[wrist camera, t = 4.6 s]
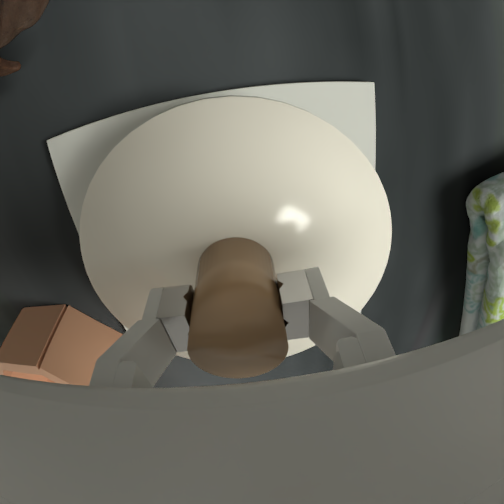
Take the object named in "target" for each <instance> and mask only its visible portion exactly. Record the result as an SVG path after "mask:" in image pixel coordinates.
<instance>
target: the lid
mask: <svg viewBox="0 0 504 504" xmlns="http://www.w3.org/2000/svg"><path fill="white" fill-rule="evenodd" d="M391 236H392V225H391V213H390V208H389V204H388V200H387V196H386V193H385V191H384V188H383V186H382V183H381V181H380V179H379V176H378V175H377V173H376V171H375V170H374V168H373V167H372V165H371V164H370V162H369V160H368V159H367V158H366V156H365V155H364V154H363V153H362V152H361V151H360V150H359V148H358V147H357V146H356V145H355V144H354V143H353V142H352V141H351V140H350V139H349V138H347V137H346V136H345V135H344V134H343V133H341V132H340V131H339V130H338V129H336V128H335V127H334V126H332V125H331V124H329V123H327V122H326V121H324V120H322V119H321V118H319V117H317V116H315V115H313V114H312V113H310V112H308V111H306V110H304V109H301V108H299V107H296V106H293V105H291V104H288V103H285V102H282V101H278V100H273V99H268V98H263V97H258V96H241V95H227V96H217V97H208V98H203V99H199V100H195V101H191V102H188V103H184V104H181V105H178V106H176V107H174V108H171V109H169V110H167V111H164V112H162V113H160V114H158V115H156V116H155V117H153V118H152V119H150V120H148V121H147V122H145V123H144V124H142V125H141V126H139V127H138V128H136V129H135V130H133V131H132V132H130V133H129V134H128V135H127V136H126V137H125V138H124V139H123V140H122V141H121V142H120V143H118V144H117V145H116V146H115V147H114V148H113V149H112V151H111V152H110V153H109V154H108V156H107V157H106V158H105V160H104V161H103V162H102V163H101V165H100V166H99V168H98V170H97V171H96V173H95V175H94V177H93V179H92V181H91V183H90V184H89V187H88V190H87V193H86V196H85V199H84V202H83V206H82V211H81V217H80V247H81V254H82V259H83V262H84V266H85V269H86V272H87V275H88V277H89V279H90V282H91V284H92V286H93V288H94V290H95V291H96V293H97V295H98V296H99V298H100V299H101V301H102V302H103V304H104V305H105V306H106V307H107V308H108V310H109V311H110V312H111V313H112V314H113V315H114V316H115V317H116V318H117V319H118V320H119V321H120V322H121V323H122V324H123V325H124V326H125V327H126V328H128V329H129V328H130V327H131V326H133V325H134V324H135V323H136V322H137V321H138V320H142V317H143V313H144V310H145V306H146V303H147V299H148V296H149V292H150V290H151V289H152V288H161V287H170V286H181V285H192V287H193V289H194V296H193V303H192V311H191V319H190V327H189V336H188V345H187V351H185V352H176V353H177V354H176V355H178V356H181V357H184V358H188V359H191V360H192V362H193V363H194V364H195V365H196V366H198V367H199V368H200V369H202V370H204V371H206V372H208V373H210V374H213V375H216V376H220V377H226V378H248V377H253V376H258V375H261V374H264V373H266V372H268V371H270V370H272V369H274V368H275V367H277V366H278V365H279V364H280V363H281V362H282V361H283V360H284V359H285V357H287V356H290V355H293V354H296V353H299V352H302V351H304V350H306V349H308V348H310V347H313V346H315V345H316V344H315V343H314V342H312V341H311V340H310V339H309V337H308V338H300V339H292V340H287V334H286V329H285V323H284V319H283V314H282V308H281V302H280V296H279V292H278V286H277V279H276V273H283V272H290V271H296V270H304V269H307V268H313V267H318V268H319V269H320V272H321V274H322V277H323V279H324V282H325V285H326V287H327V290H328V293H329V296H330V297H336V298H337V299H339V300H340V301H342V302H343V303H345V304H347V305H348V306H350V307H351V308H353V309H354V310H356V311H357V312H359V311H360V310H361V309H362V308H363V307H364V306H365V304H366V303H367V302H368V300H369V299H370V297H371V296H372V294H373V293H374V291H375V289H376V288H377V286H378V284H379V282H380V280H381V278H382V275H383V273H384V270H385V267H386V265H387V261H388V257H389V252H390V248H391Z"/></svg>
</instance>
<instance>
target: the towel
mask: <svg viewBox="0 0 504 504" xmlns="http://www.w3.org/2000/svg"><path fill="white" fill-rule="evenodd" d="M466 209H467V215H468V217H469V220H470V229H471V231H470V234H469V241H468V245H467V246H468V251H467V270H466V285H465V295H464V305H463V313H462V321H461V328H460V333H459V336H461V335H464V334H466V333H469V332H472V331H475V330H477V329H480V328H482V327H485V326H487V325H490V324H492V323H495V322H497V321H500V320H502V319H504V172H502V173H500V174H498V175H495V176H493V177H491V178H489V179H487V180H485V181H483V182H482V183H480V184H479V185H477V186H476V187H475V188H474V189H473V190H472V191H471V193H470V194H469V196H468V198H467V200H466Z"/></svg>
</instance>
